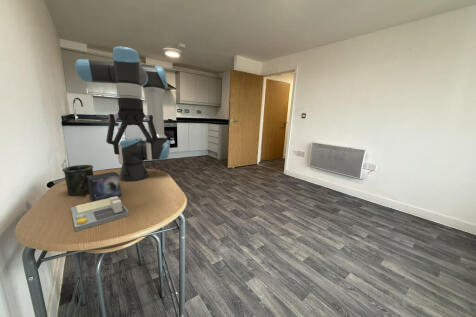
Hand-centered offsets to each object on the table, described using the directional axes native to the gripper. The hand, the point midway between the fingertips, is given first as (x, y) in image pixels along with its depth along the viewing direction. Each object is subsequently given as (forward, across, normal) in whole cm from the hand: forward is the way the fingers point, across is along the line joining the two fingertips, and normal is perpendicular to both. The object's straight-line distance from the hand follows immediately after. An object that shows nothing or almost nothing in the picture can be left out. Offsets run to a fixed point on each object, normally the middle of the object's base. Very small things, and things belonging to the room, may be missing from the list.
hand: (135, 161), depth 68 cm
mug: (+20, +14, -35) cm, 43 cm away
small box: (+20, +8, -22) cm, 31 cm away
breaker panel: (+19, +12, -6) cm, 24 cm away
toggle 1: (+17, +8, -4) cm, 19 cm away
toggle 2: (+17, +8, 0) cm, 19 cm away
